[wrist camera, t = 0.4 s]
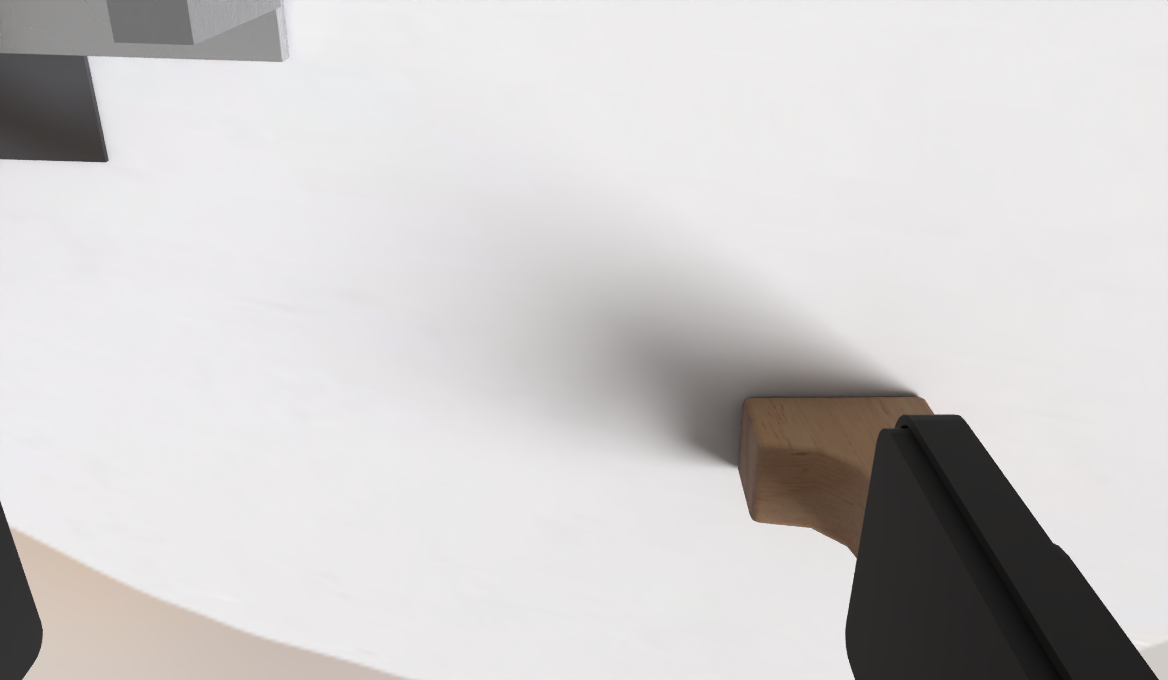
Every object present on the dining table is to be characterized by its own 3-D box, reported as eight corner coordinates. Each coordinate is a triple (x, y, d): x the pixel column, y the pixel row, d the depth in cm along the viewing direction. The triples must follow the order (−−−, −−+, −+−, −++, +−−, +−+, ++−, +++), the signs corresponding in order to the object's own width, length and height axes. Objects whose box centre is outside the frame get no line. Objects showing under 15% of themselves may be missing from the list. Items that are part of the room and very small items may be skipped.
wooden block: (736, 470, 48) (813, 774, 32) (742, 394, 46) (828, 678, 30) (911, 468, 48) (1077, 772, 31) (924, 393, 46) (1110, 676, 29)
